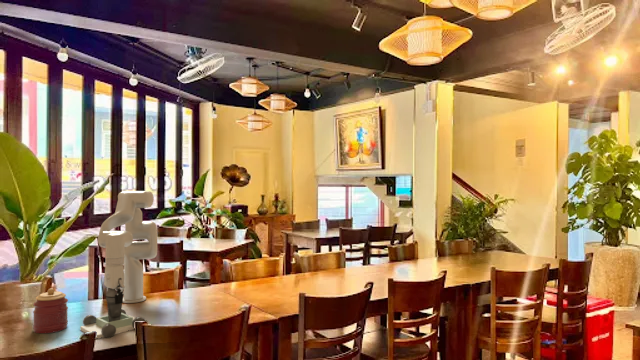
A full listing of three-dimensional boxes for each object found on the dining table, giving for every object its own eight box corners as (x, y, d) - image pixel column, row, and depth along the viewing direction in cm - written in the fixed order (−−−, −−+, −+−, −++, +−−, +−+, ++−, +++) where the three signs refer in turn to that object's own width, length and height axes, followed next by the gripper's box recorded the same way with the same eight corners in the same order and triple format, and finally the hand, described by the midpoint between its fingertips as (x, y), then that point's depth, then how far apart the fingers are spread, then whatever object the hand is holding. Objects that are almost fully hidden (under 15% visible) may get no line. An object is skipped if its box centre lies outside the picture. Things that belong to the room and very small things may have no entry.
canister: (74, 325, 198) (75, 285, 198) (51, 335, 185) (51, 293, 185) (50, 323, 201) (50, 284, 201) (25, 332, 188) (25, 291, 188)
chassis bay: (78, 328, 193) (78, 317, 193) (127, 317, 210) (127, 306, 210) (98, 340, 180) (98, 328, 180) (149, 327, 196) (150, 315, 196)
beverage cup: (109, 318, 198) (109, 274, 198) (125, 318, 199) (126, 274, 199) (102, 324, 191) (103, 278, 191) (120, 324, 192) (120, 277, 192)
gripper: (97, 260, 198) (97, 299, 198) (115, 265, 186) (115, 307, 187) (114, 257, 204) (114, 296, 204) (132, 262, 192) (132, 303, 192)
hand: (114, 301), depth 195 cm, fingers closed on beverage cup, 7 cm apart
